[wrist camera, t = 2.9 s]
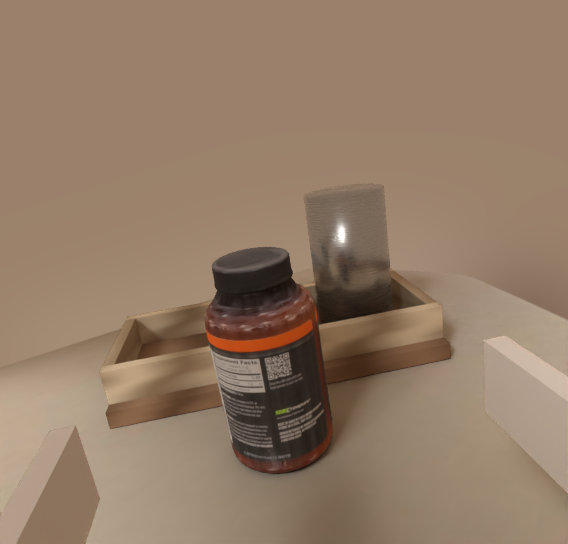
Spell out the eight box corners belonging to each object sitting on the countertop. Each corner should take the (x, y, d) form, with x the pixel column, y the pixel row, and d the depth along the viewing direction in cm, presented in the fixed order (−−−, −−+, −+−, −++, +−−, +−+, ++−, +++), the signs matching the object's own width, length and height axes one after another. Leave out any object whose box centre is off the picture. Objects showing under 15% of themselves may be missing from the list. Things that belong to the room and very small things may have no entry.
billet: (330, 346, 34) (312, 202, 31) (314, 317, 40) (297, 193, 36) (406, 331, 34) (396, 188, 31) (379, 304, 40) (368, 181, 37)
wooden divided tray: (110, 428, 30) (95, 380, 29) (139, 349, 41) (129, 312, 40) (450, 358, 32) (448, 310, 31) (389, 301, 44) (386, 265, 43)
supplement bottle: (283, 400, 30) (256, 237, 27) (355, 432, 26) (334, 244, 23) (211, 450, 26) (170, 267, 23) (282, 497, 22) (244, 282, 19)
